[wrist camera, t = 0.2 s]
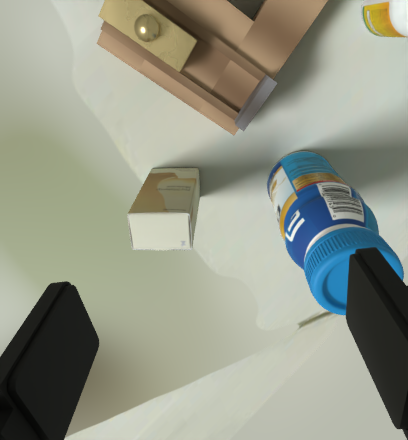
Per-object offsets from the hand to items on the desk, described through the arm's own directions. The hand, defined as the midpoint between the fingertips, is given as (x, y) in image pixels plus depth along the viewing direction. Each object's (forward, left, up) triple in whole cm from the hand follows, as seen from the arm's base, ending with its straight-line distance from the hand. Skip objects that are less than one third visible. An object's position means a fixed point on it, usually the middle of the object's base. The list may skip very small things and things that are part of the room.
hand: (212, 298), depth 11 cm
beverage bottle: (+1, +14, -31) cm, 34 cm away
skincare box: (+10, +1, -31) cm, 33 cm away
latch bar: (-4, -9, -26) cm, 28 cm away
